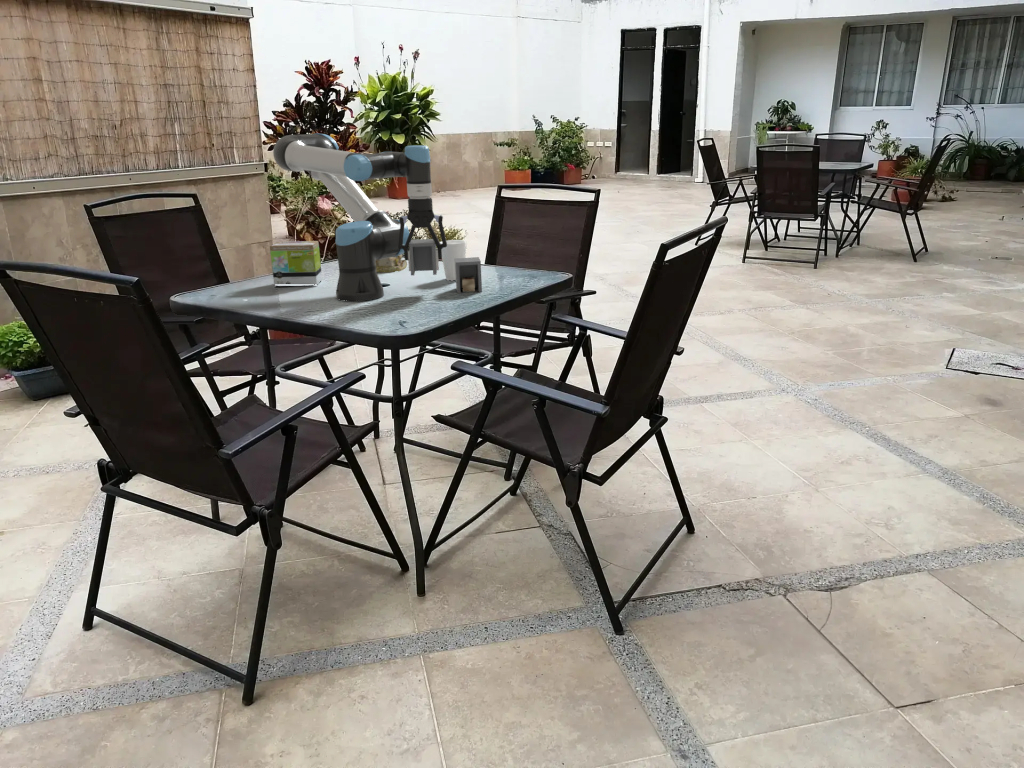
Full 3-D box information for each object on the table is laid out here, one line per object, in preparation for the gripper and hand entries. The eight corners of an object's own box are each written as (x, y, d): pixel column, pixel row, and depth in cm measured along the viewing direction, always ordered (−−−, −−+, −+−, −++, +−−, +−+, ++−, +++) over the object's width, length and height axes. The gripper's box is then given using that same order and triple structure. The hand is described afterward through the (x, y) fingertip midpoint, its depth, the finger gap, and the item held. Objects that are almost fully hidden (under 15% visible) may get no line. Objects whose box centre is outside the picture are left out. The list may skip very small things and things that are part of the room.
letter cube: (462, 291, 255) (462, 279, 253) (462, 289, 259) (462, 276, 257) (475, 291, 255) (474, 278, 254) (474, 288, 259) (474, 276, 257)
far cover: (457, 293, 252) (455, 262, 249) (456, 288, 260) (454, 258, 257) (482, 291, 253) (480, 261, 250) (480, 287, 261) (478, 257, 257)
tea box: (274, 288, 270) (268, 245, 266) (281, 282, 280) (275, 241, 275) (317, 286, 271) (312, 243, 266) (323, 281, 280) (318, 239, 275)
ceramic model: (394, 273, 290) (392, 246, 287) (368, 272, 294) (365, 245, 290) (412, 266, 302) (410, 240, 299) (386, 265, 306) (384, 240, 303)
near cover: (411, 275, 247) (409, 243, 243) (412, 270, 254) (410, 239, 251) (436, 274, 247) (434, 243, 244) (436, 269, 255) (435, 238, 251)
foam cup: (470, 276, 279) (468, 239, 275) (466, 281, 271) (464, 243, 266) (444, 276, 280) (441, 240, 276) (439, 281, 272) (436, 244, 267)
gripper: (385, 199, 239) (390, 273, 246) (453, 197, 240) (456, 271, 247) (387, 197, 246) (392, 268, 253) (453, 195, 247) (456, 266, 254)
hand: (424, 269), depth 250 cm, fingers closed on near cover, 8 cm apart
